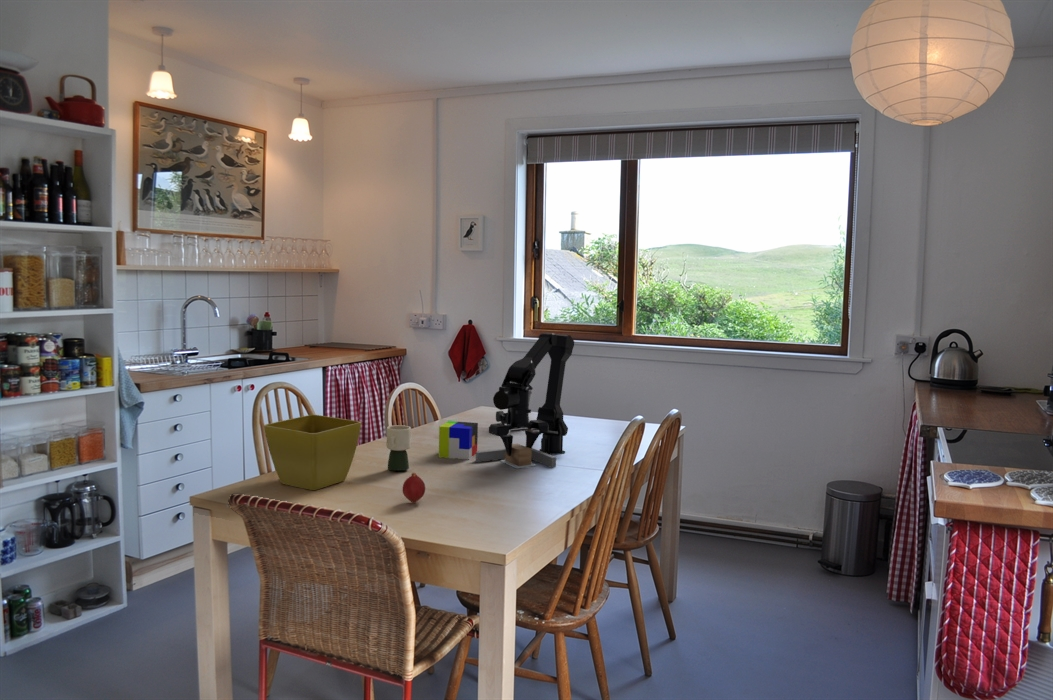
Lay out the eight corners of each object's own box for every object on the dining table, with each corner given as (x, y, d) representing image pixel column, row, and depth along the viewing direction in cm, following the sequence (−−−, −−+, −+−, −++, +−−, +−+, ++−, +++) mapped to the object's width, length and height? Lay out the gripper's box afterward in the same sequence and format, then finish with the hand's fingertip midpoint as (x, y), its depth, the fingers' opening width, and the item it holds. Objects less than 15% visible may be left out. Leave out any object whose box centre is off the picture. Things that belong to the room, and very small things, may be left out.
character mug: (393, 465, 238) (394, 423, 237) (416, 467, 237) (416, 424, 235) (379, 473, 228) (380, 430, 226) (402, 476, 226) (403, 431, 225)
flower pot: (313, 496, 204) (313, 433, 202) (262, 485, 213) (261, 424, 211) (362, 480, 220) (363, 421, 219) (312, 470, 230) (312, 414, 228)
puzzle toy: (468, 459, 248) (469, 428, 247) (438, 457, 250) (439, 426, 249) (477, 452, 258) (477, 422, 257) (448, 450, 260) (448, 421, 259)
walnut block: (531, 464, 242) (531, 448, 242) (519, 466, 240) (519, 450, 239) (516, 459, 249) (517, 443, 248) (505, 460, 246) (505, 445, 246)
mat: (519, 458, 250) (519, 458, 250) (536, 465, 242) (536, 465, 242) (500, 461, 247) (500, 460, 247) (516, 468, 238) (516, 467, 238)
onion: (403, 499, 203) (403, 469, 202) (425, 499, 204) (425, 469, 203) (401, 506, 197) (401, 475, 196) (424, 506, 198) (424, 475, 197)
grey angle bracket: (526, 455, 256) (527, 446, 256) (555, 466, 242) (556, 457, 241) (475, 461, 246) (475, 451, 246) (502, 473, 232) (502, 463, 231)
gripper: (531, 399, 254) (529, 446, 256) (480, 403, 244) (479, 452, 246) (550, 405, 245) (548, 453, 246) (498, 409, 235) (497, 460, 236)
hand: (518, 454), depth 244 cm, fingers open, 6 cm apart
